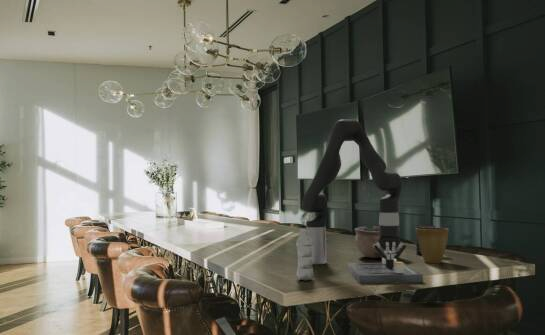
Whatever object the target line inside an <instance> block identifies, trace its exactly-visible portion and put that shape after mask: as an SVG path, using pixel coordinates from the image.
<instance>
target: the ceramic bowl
mask: <svg viewBox="0 0 545 335" xmlns="http://www.w3.org/2000/svg"><path fill="white" fill-rule="evenodd" d="M354 231H355V239H354V240H355V241H354V242H355V246H356V248H357V249H358V251H359V252H360V253H361V254H362V255H363V256H364V257H366V258H371V259H382V257H381V256H380V255H379V253H378V252H377V251H376V250H375V248H374V247H373V245H374V244H376V243H378V240H379V225H378V226H377V225H376V226H372V228H368V227H367V226H358V227H356V228H354ZM399 231H400V228H399ZM380 250H381V251H382V253H383V254H384V255H385V252H384V249H383V248H382V247H381V245H380ZM397 250H398V247H397V248H396V250H395V252H397ZM389 252H390V250H389ZM389 255H390V253H389Z"/></svg>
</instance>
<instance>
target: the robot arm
mask: <svg viewBox="0 0 545 335" xmlns="http://www.w3.org/2000/svg"><path fill="white" fill-rule="evenodd" d="M344 142H354V143H356V144H357V146H358V147H359V151H360V159H361V160H360V161H361V162H362V164H363V165H364V166H365V167H366V169H367V170H368V172H369V173H370V176H371V178H372V182H373V184H374V185H375V187H376V188H377V189H378V190H380V191H383V192H385V191H386V194H385V196H383V197H381V198H380V199H379V217H378V218H379V219H378V226H379V240H378V243H376V244H374V245H373V247H374V248H375V250H376V251H377V252H378V253H379V255H380V256H381V257H382V258H385V260H386V268H387V269H392V268H393V267H394V259H398V258H400V256H401V255H402V253H403V252H404V251H405V249H406V248H407V245H405V244H404V243H403V242H402V241H401V239H400V230H399V229H400V216H399V201H400V196H401V193H402V192H401V191H402V186H403V181H402V177H401V176H400V174H399V173H397V172H387V171H386V169H387V164H386V163H385V160H383V158H382V156H381V155H380V154H379V153H378V152H377V151H376V150H375V148H374V146H373V143H372V142H371V140H370V139H369V137H368V135H367V133H366V131H365V129H364V127H363V126H362V124H361V123H360V122H359V120H356V119H339V120H337V121H336V122H335V124H334V125H333V129H332V131H331V135H330V138H329V141H328V143H327V147H326V150H325V151H324V154H323V157H322V159H321V160H320V162H319V165H318V167H317V169H316V172H315V175H314V176H313V179H312V181H311V183H310V185H309V186H308V188H307V190H306V192H305V193H304V196H303V198H302V201H301V207H302V210H303V211H304V212H306V213H310V214H312V213H314V216H312V217H311V218H310V219H308V220H306V223H305V226H306V228H305V229H309V236H310V238H311V239H312V242H313V245H312V246H313V247H312V265H324V264H326V263H327V231H326V230H327V228H326V226H327V219H328V199H327V196H326V194H324V193H323V192H322V191H323V190H325V189H326V188H327V187H328V186H329V185H331V184H332V182H334V181H335V180H336V178H337V177H338V174H339V172H340V171H341V167H342V159H341V154H340V152H341V151H340V150H341V149H342V146H343V144H344ZM380 245H381V247H382V248H383V249H384V252H385V255H384V254H383V253H382V251H381V250H380ZM396 248H397V249H396ZM389 250H390V252H389ZM395 250H396V251H395ZM389 253H390V255H389ZM382 258H381V259H382Z"/></svg>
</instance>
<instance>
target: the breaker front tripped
mask: <svg viewBox="0 0 545 335" xmlns="http://www.w3.org/2000/svg"><path fill="white" fill-rule="evenodd" d="M404 264H405V263H404V262H402V261H397V262H394V272H395V273H404Z"/></svg>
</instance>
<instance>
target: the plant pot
mask: <svg viewBox="0 0 545 335" xmlns="http://www.w3.org/2000/svg"><path fill="white" fill-rule="evenodd" d="M449 232H450V231H449V228H446V227H435V228H434V227H422V228H416V227H415V235H416V234H417V239H418V244H419V247H420V251H421V254H422V256H421V257H422V259H423V262H424V263H428V264H441V263H442V260H443V258H444V255H445V251H446V247H447V243H448V238H449Z"/></svg>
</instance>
